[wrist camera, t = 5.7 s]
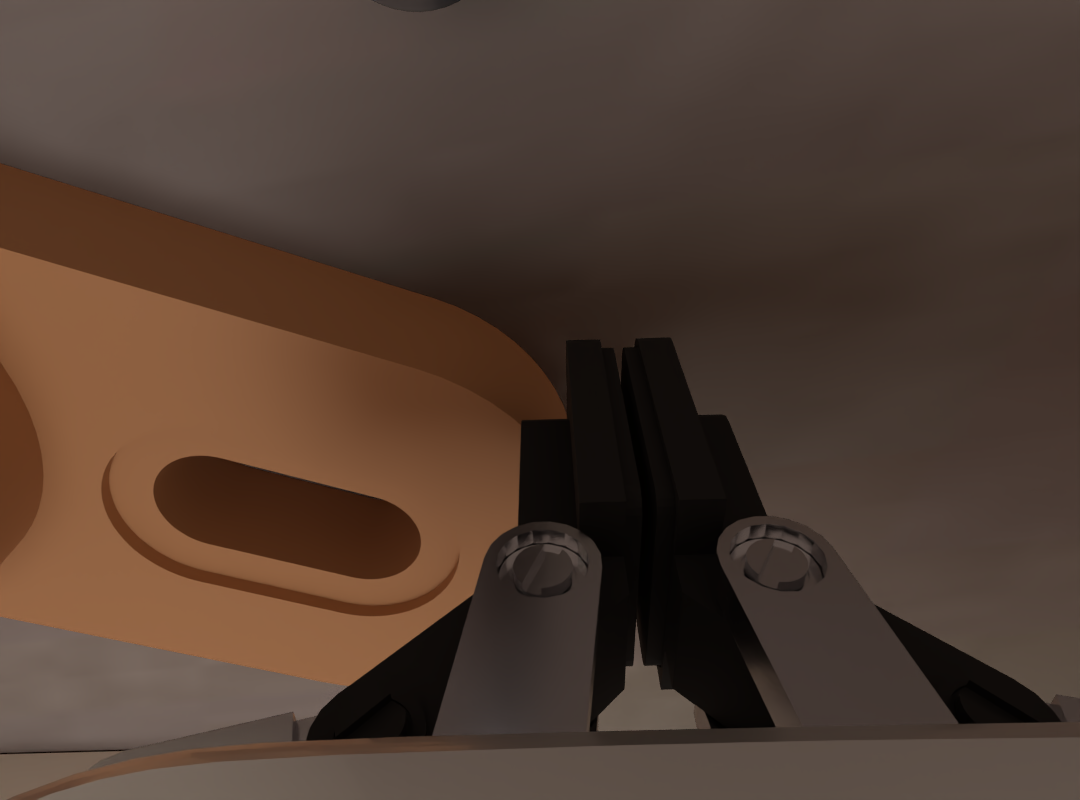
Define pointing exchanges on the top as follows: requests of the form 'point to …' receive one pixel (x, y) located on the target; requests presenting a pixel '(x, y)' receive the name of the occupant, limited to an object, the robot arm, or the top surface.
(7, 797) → the white u-shaped frame
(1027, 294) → the top surface
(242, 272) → the bracket
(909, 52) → the top surface
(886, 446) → the top surface
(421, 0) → the post
